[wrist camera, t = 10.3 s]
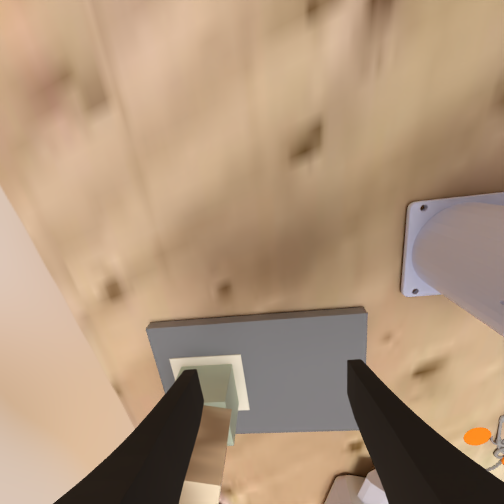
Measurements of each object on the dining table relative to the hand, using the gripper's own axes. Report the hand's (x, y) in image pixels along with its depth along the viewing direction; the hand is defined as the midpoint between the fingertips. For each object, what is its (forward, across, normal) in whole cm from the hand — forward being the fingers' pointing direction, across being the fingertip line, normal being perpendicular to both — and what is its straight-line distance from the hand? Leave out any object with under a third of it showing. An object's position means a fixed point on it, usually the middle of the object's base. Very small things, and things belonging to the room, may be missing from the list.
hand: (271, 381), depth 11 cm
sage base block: (+9, +7, +10) cm, 15 cm away
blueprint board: (+10, +2, +10) cm, 15 cm away
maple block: (+5, +7, +10) cm, 13 cm away
